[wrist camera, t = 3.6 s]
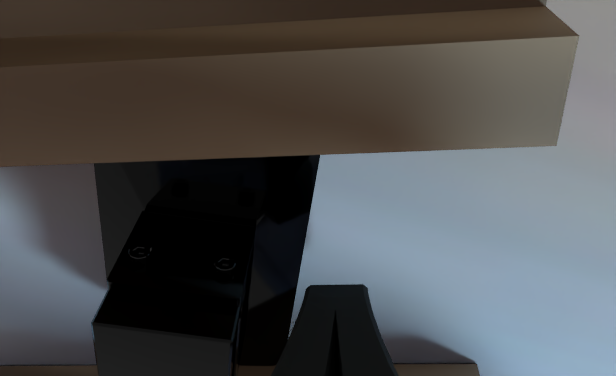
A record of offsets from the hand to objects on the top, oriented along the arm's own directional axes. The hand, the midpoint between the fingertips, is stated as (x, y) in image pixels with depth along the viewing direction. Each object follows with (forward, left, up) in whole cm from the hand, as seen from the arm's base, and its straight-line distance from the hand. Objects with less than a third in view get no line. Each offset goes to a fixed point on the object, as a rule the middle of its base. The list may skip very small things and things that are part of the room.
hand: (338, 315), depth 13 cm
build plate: (0, +4, -3) cm, 5 cm away
